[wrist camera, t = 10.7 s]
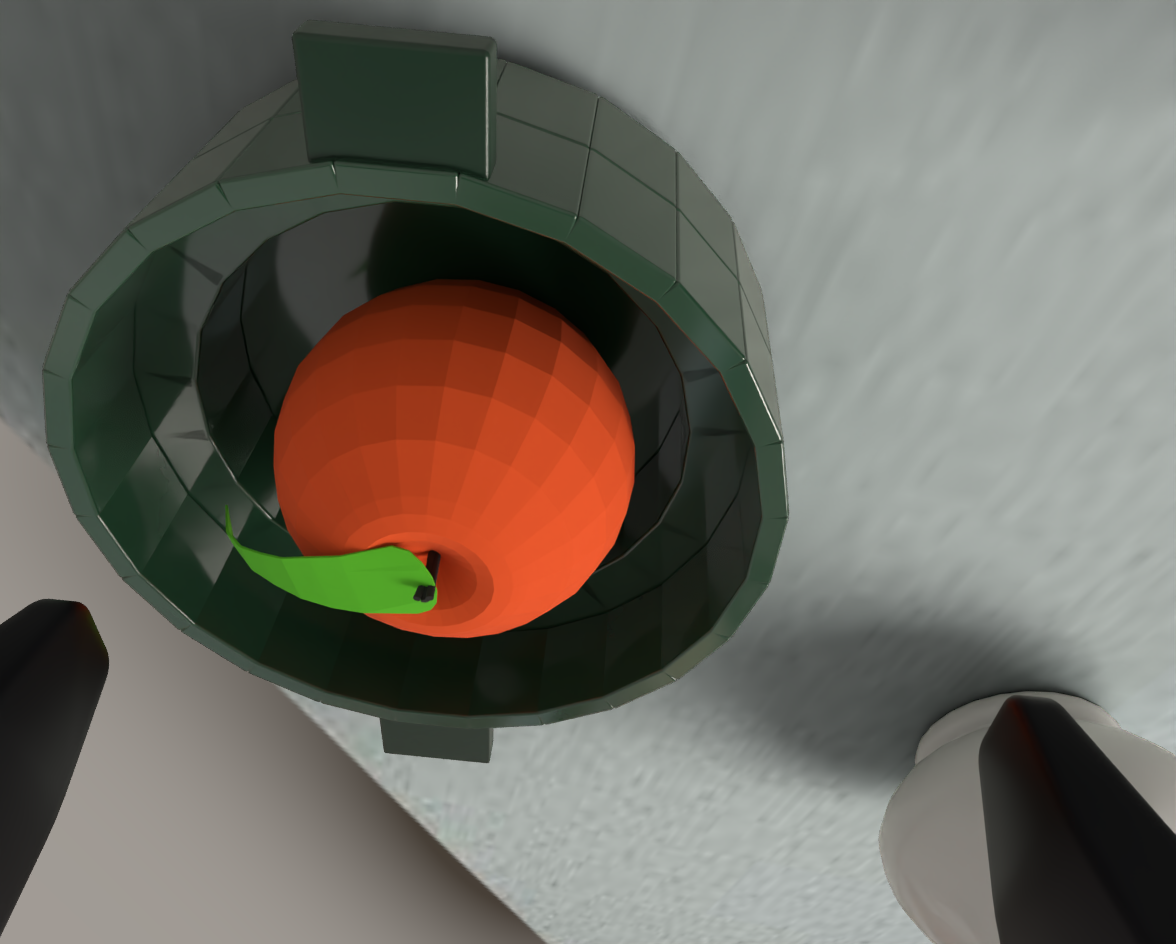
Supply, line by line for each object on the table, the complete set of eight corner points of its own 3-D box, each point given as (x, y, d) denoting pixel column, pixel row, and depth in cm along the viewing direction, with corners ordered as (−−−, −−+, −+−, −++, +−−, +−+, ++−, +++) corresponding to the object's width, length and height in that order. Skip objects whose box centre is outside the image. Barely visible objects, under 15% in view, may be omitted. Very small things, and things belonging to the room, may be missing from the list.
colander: (828, 80, 17) (878, 213, 13) (713, 579, 26) (721, 755, 22) (98, 11, 17) (-85, 121, 13) (230, 532, 26) (145, 697, 22)
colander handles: (498, 35, 13) (489, 51, 12) (493, 739, 23) (489, 764, 23) (304, 17, 13) (289, 33, 12) (389, 729, 23) (383, 753, 23)
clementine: (342, 488, 24) (246, 728, 19) (237, 239, 20) (70, 458, 14) (656, 467, 23) (650, 715, 17) (619, 196, 18) (596, 417, 13)
